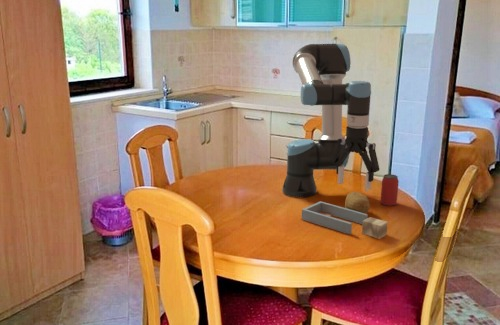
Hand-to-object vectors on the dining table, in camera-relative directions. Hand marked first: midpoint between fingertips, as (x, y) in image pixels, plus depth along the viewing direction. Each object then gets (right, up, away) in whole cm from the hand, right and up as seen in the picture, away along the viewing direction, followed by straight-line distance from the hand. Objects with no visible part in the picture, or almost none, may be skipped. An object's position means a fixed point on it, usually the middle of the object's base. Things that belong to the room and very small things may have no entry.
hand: (353, 186), depth 179 cm
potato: (+5, -12, +18) cm, 22 cm away
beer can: (+20, -9, +28) cm, 36 cm away
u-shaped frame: (-5, -14, +9) cm, 17 cm away
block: (+4, -14, 0) cm, 15 cm away
